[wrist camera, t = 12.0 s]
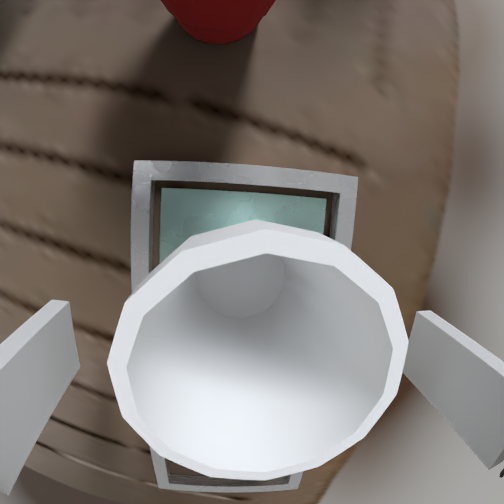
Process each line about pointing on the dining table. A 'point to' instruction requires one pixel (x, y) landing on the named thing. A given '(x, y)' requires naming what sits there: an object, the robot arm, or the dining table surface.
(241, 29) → the plastic cup
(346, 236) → the grey flat rectangular frame
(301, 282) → the foam cup
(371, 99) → the dining table surface
